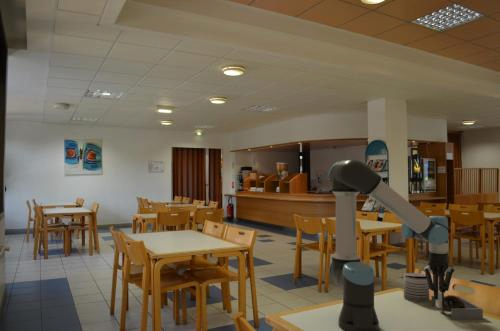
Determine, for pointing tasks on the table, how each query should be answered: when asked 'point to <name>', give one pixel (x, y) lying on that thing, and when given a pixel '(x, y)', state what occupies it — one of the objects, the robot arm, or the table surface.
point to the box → (464, 310)
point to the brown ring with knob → (452, 303)
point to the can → (416, 287)
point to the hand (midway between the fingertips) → (438, 306)
